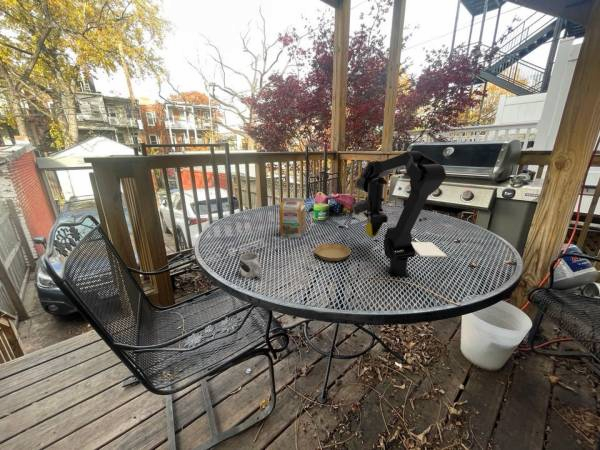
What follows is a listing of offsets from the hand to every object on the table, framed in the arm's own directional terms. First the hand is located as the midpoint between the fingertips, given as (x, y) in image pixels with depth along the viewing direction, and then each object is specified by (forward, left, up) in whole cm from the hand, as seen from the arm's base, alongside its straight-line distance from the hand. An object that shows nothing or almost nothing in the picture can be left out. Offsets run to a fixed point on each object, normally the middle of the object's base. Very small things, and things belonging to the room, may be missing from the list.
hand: (372, 232), depth 102 cm
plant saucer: (-2, +16, -10) cm, 19 cm away
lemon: (0, 0, -2) cm, 2 cm away
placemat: (+4, -24, -9) cm, 26 cm away
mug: (-19, +45, -9) cm, 50 cm away
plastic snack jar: (+22, +34, -9) cm, 41 cm away
